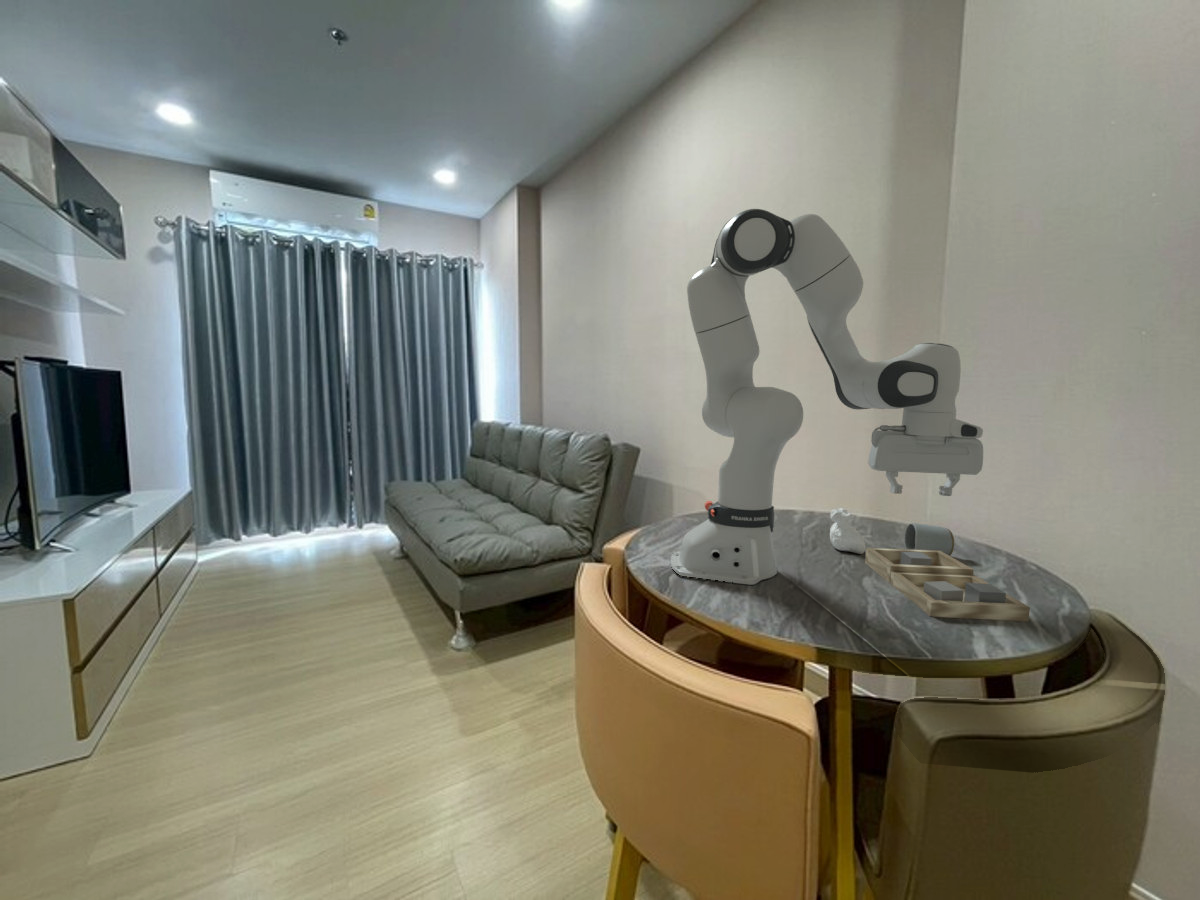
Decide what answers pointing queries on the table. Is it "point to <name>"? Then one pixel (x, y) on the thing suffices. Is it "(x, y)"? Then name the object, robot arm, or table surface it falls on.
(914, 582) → the tray
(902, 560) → the stone mid
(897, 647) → the table surface
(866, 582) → the table surface
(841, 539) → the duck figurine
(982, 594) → the stone right
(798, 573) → the table surface
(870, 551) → the tray
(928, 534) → the ceramic mug
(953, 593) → the block
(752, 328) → the robot arm
